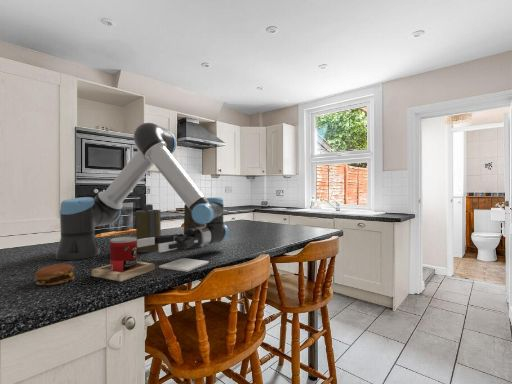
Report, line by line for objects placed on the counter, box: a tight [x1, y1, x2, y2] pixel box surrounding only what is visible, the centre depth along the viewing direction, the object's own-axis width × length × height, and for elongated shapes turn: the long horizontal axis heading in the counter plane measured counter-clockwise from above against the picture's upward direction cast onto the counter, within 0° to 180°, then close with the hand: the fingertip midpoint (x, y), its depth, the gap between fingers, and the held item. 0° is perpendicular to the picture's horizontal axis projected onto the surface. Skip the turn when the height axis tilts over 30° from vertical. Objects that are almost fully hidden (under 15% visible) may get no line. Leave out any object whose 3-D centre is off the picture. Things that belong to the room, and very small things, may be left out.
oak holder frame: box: [91, 260, 155, 282], centre depth 91 cm, size 13×13×2 cm
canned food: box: [109, 236, 138, 273], centre depth 91 cm, size 8×8×11 cm
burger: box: [34, 263, 75, 286], centre depth 83 cm, size 10×9×5 cm
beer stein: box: [183, 203, 207, 249], centre depth 136 cm, size 15×11×20 cm
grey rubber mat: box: [158, 257, 209, 273], centre depth 100 cm, size 12×12×1 cm
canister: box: [135, 203, 162, 253], centre depth 125 cm, size 11×10×20 cm
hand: (147, 245), depth 97 cm, fingers open, 13 cm apart
